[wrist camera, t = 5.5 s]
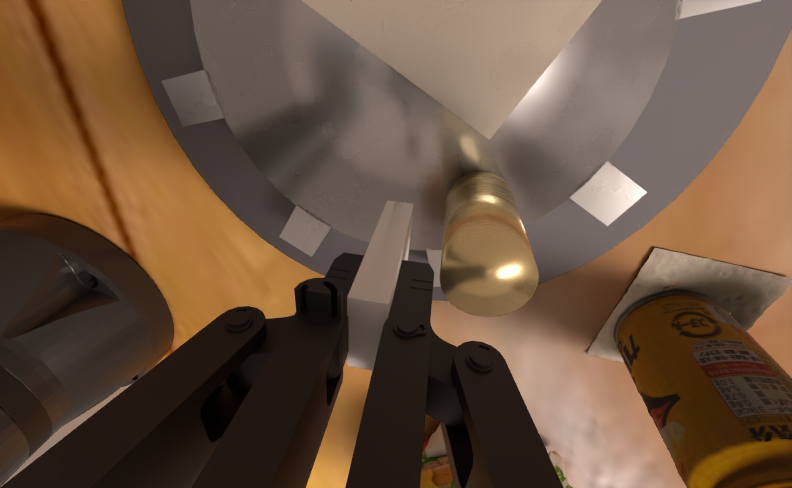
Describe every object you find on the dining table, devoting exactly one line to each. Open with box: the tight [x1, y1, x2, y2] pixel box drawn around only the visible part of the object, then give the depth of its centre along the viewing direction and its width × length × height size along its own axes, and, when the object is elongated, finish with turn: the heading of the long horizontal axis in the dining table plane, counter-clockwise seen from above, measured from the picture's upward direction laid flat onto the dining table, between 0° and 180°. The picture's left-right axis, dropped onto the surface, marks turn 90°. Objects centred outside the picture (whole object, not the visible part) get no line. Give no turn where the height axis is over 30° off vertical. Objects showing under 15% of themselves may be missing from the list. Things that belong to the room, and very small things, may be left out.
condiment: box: [587, 248, 792, 488], centre depth 16 cm, size 7×8×12 cm
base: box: [122, 0, 792, 301], centre depth 15 cm, size 28×28×4 cm
